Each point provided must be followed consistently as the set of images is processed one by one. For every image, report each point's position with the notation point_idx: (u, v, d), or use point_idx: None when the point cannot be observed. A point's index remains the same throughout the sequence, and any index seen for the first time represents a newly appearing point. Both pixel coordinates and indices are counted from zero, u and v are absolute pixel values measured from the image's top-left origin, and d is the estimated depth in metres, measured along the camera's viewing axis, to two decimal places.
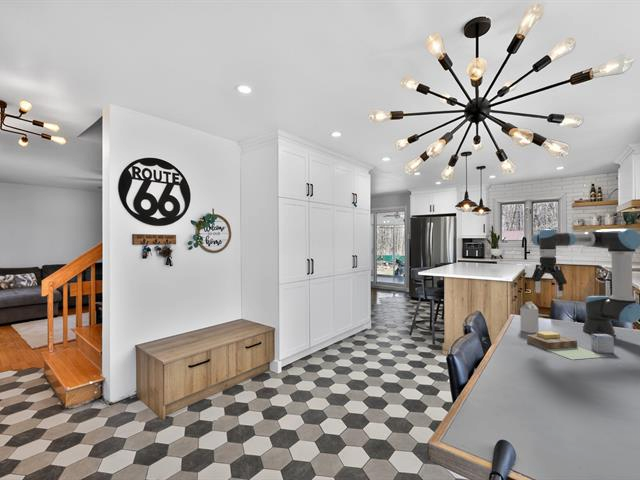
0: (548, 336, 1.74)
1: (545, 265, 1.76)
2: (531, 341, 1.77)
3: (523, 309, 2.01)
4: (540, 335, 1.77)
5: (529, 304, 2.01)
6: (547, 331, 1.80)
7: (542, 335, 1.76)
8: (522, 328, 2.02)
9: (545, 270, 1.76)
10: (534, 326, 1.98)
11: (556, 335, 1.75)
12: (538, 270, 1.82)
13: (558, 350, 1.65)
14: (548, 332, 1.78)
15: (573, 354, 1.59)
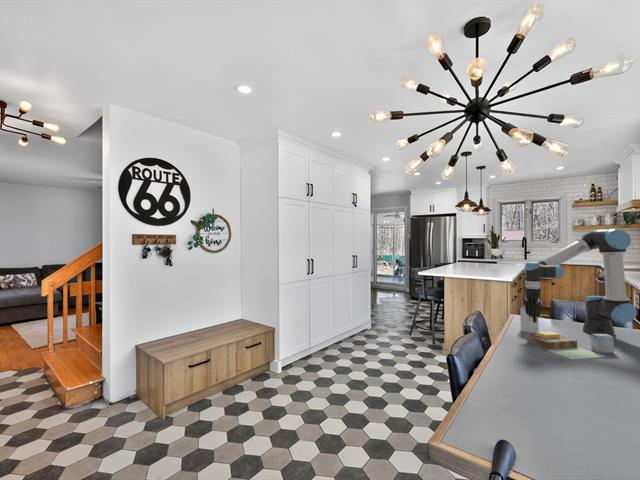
0: (548, 336, 1.74)
1: (530, 296, 1.87)
2: (531, 341, 1.77)
3: (523, 309, 2.01)
4: (540, 335, 1.77)
5: None
6: (547, 331, 1.80)
7: (542, 335, 1.76)
8: (522, 328, 2.02)
9: (530, 300, 1.87)
10: None
11: (556, 335, 1.75)
12: (527, 303, 1.91)
13: (558, 350, 1.65)
14: (548, 332, 1.78)
15: (573, 354, 1.59)
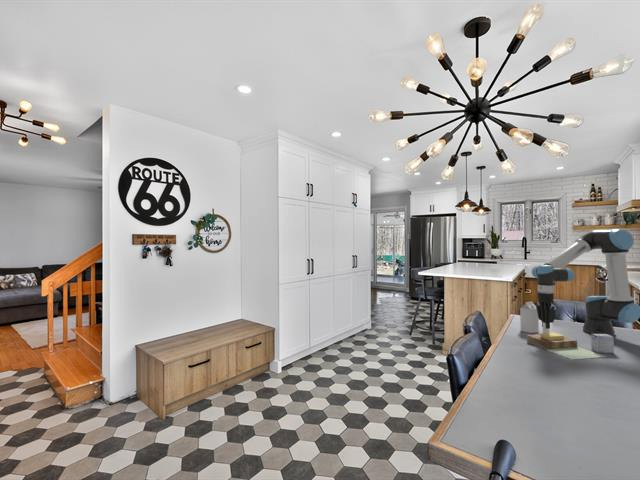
0: (552, 337, 1.71)
1: (543, 300, 1.79)
2: (531, 341, 1.77)
3: (523, 309, 2.01)
4: (544, 336, 1.74)
5: (529, 304, 2.01)
6: None
7: (546, 336, 1.73)
8: (522, 328, 2.02)
9: (543, 305, 1.79)
10: (534, 326, 1.98)
11: (561, 337, 1.72)
12: None
13: (558, 350, 1.65)
14: (552, 333, 1.76)
15: (573, 354, 1.59)
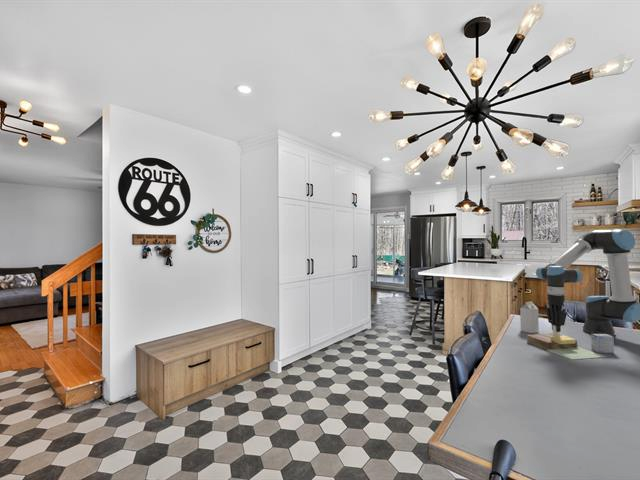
0: (563, 341, 1.65)
1: (553, 303, 1.72)
2: (531, 341, 1.77)
3: (523, 309, 2.01)
4: (554, 340, 1.68)
5: (529, 304, 2.01)
6: None
7: (557, 340, 1.67)
8: (522, 328, 2.02)
9: (553, 308, 1.72)
10: (534, 326, 1.98)
11: (572, 341, 1.66)
12: (549, 310, 1.76)
13: (558, 350, 1.65)
14: (563, 337, 1.69)
15: (573, 354, 1.59)
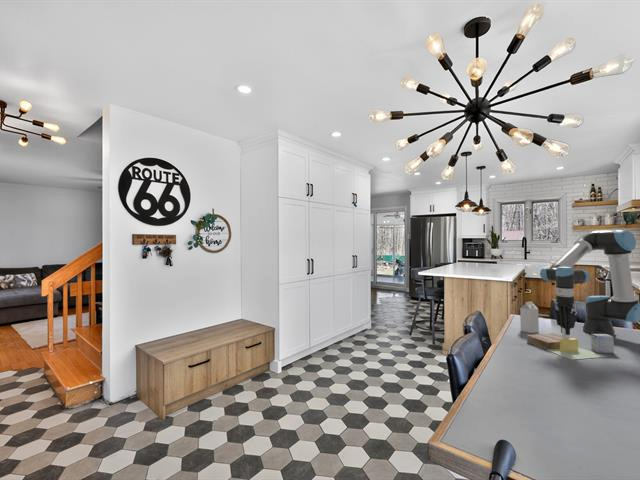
0: None
1: (562, 305, 1.67)
2: (531, 341, 1.77)
3: (523, 309, 2.01)
4: (561, 344, 1.64)
5: (529, 304, 2.01)
6: (574, 339, 1.64)
7: (561, 347, 1.64)
8: (522, 328, 2.02)
9: (562, 310, 1.67)
10: (534, 326, 1.98)
11: None
12: (558, 312, 1.71)
13: (558, 350, 1.65)
14: (572, 343, 1.64)
15: (573, 354, 1.59)
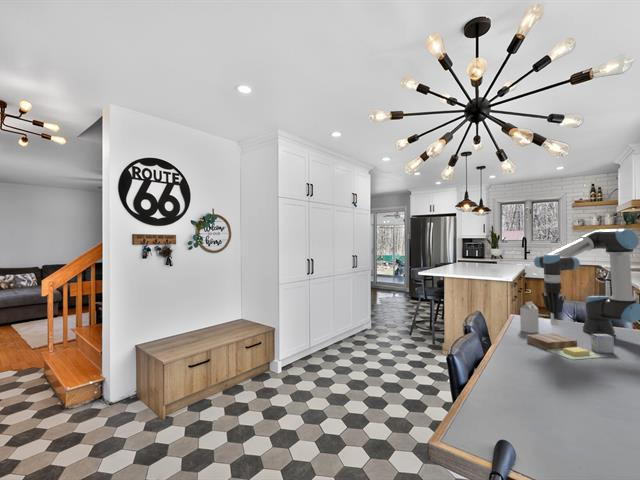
0: None
1: (550, 290, 1.74)
2: (531, 341, 1.77)
3: (523, 309, 2.01)
4: (569, 351, 1.60)
5: (529, 304, 2.01)
6: (585, 354, 1.59)
7: (567, 351, 1.61)
8: (522, 328, 2.02)
9: (550, 295, 1.74)
10: (534, 326, 1.98)
11: None
12: (546, 298, 1.78)
13: (558, 350, 1.65)
14: None
15: None
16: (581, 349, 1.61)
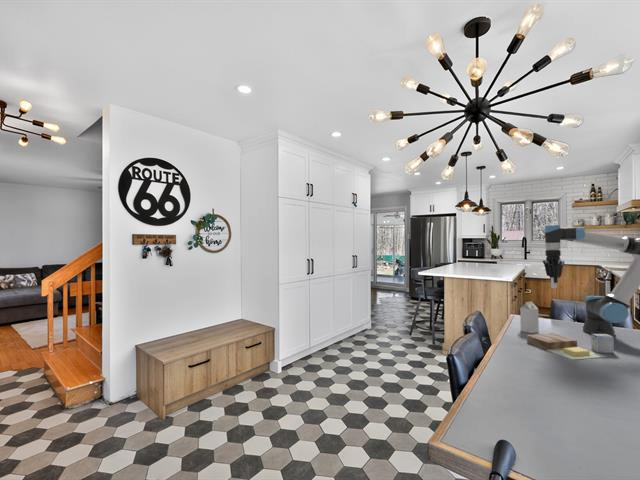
0: None
1: (550, 257, 1.94)
2: (531, 341, 1.77)
3: (523, 309, 2.01)
4: (569, 351, 1.60)
5: (529, 304, 2.01)
6: (585, 354, 1.59)
7: (567, 351, 1.61)
8: (522, 328, 2.02)
9: (551, 262, 1.94)
10: (534, 326, 1.98)
11: None
12: (547, 265, 1.97)
13: (558, 350, 1.65)
14: None
15: None
16: (581, 349, 1.61)
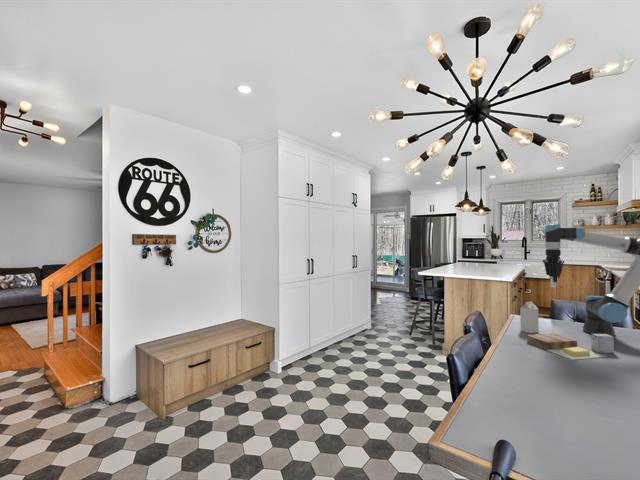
0: None
1: (550, 256, 1.94)
2: (531, 341, 1.77)
3: (523, 309, 2.01)
4: (569, 351, 1.60)
5: (529, 304, 2.01)
6: (585, 354, 1.59)
7: (567, 351, 1.61)
8: (522, 328, 2.02)
9: (550, 261, 1.95)
10: (534, 326, 1.98)
11: None
12: (547, 264, 1.98)
13: (558, 350, 1.65)
14: None
15: None
16: (581, 349, 1.61)
